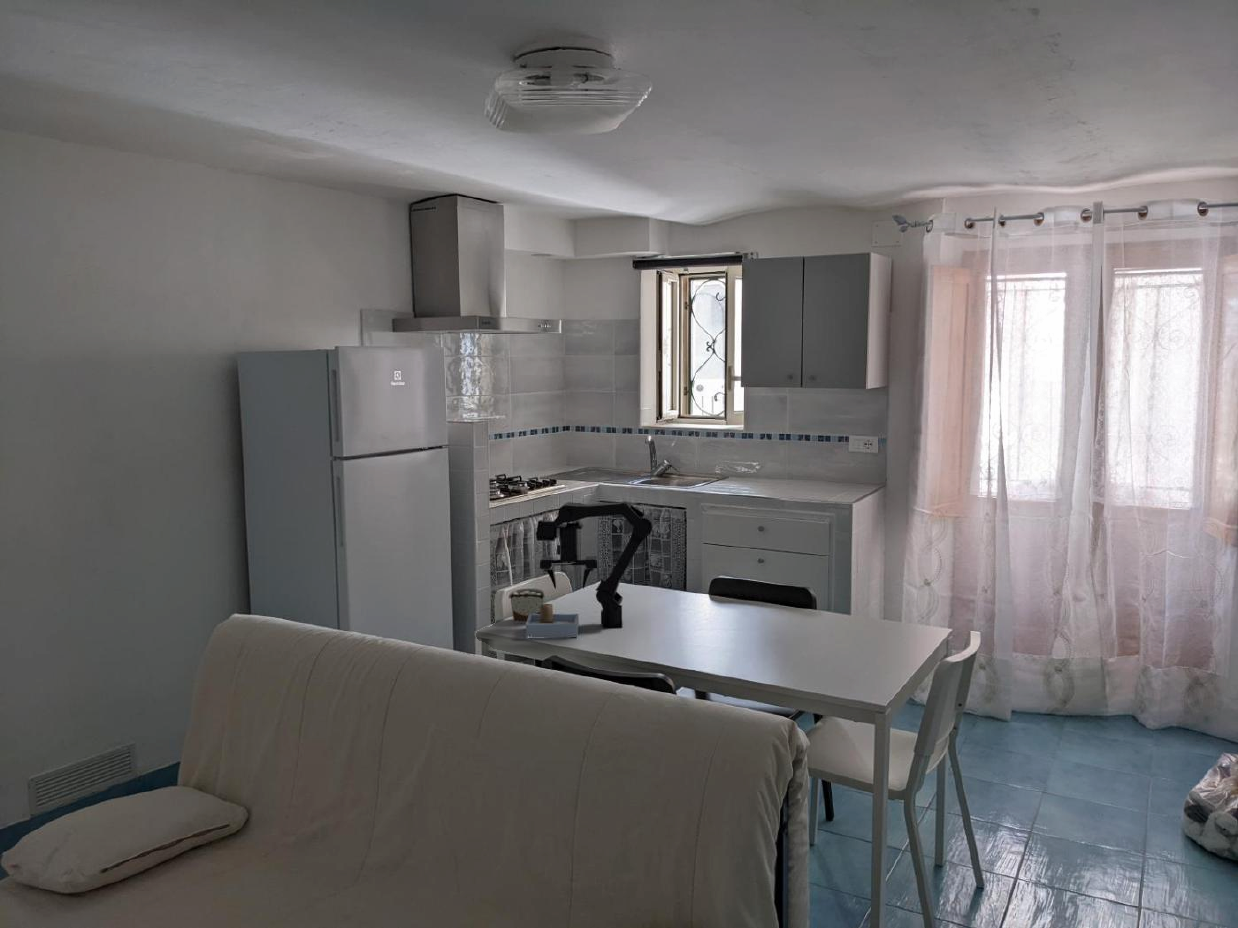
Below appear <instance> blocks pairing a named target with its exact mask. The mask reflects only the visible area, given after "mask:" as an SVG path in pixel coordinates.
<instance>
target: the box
mask: <svg viewBox="0 0 1238 928" xmlns="http://www.w3.org/2000/svg"><path fill="white" fill-rule="evenodd" d="M579 618H580V617H579V613H553V624H540V614H529V616H528V619H527V622H525V637H526V636H527V637H528V636H529V637H531V636H532V637H577V638H578V633H579V628H580V627H579V626H580V625H579V623H580V622H579Z"/></svg>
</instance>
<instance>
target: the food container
mask: <svg viewBox="0 0 1238 928" xmlns="http://www.w3.org/2000/svg"><path fill="white" fill-rule="evenodd" d="M508 599H510V604H511V611H512V619H513V622H514V621H519V622H518V623H526V622H527V619H528V616H529V614H540V605H542V604H544V600H546V593H545V592H544V591H543V590H542V589H538V588H519V589H515V590H512V591H510V592H509V595H508Z"/></svg>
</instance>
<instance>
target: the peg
mask: <svg viewBox="0 0 1238 928" xmlns="http://www.w3.org/2000/svg"><path fill="white" fill-rule="evenodd" d="M553 609H554V607H553V604H551V603H543V604H542V605H540V624H553V614H554V611H553Z"/></svg>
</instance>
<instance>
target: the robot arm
mask: <svg viewBox="0 0 1238 928" xmlns="http://www.w3.org/2000/svg"><path fill="white" fill-rule="evenodd" d="M607 516H622V517H623V518H624V519H625V520H626V521H627V522H628V523H629V524H630V525H631V526H632V527H633V529H632V531H631V535H630V538H629V540H628V543H627V544H626V546H625V548H624V550H623V551H622V553H621V555H620V557H619V559H618V560H617V563H616V565H614V568H613V569H612V571H611V573H610V574H609V576H606V575H603V576H602V578H601V579H600V583H599V584H598V585H597V587H596V588H595V591H596V593H595V598H596V600H597V602H598V603H599V604H600V605H601V607H602V609H601V610H600V624H601V625H602V627H601V628H604V629H606V628H607V629H608V628H613V629H614V628H623V605H622V602H623V600H624V599H623V596H622V595H621V594H620V593H619V592H618V590H619V587H620V583H621V579H622V578H623V575H624V574H625V572H626V570H627V569H628V567H629V565H630V563H631V561H632V559H633V558H634V556H635V554H636V552H637V550H638V549H639V547H640V545H641V544H642V543H643V542H644V541H645V540H646V539H647V538H648V536H649V535H650V534H651V532H652V531H653V530H654V528H655V525H656V524H655V520H654V518H653V516H651V515H649V514H645V513H644V512H643V511H642V510H640V509H638V508H637V507H635V506H634V505H632V504H631V503H630V502H629V501H627V500H623V501H620V502H619V501H618V502H616V501H615V502H608V503H607V502H606V503H605V502H603V503H592V504H584V503H581V502H572V501H569V502H565V503H563V505H562V506H560V508H559V509H558V511H557V517H555V519H554V520H543V519H539V520H538V521H537V527H536V532H535V537H536V541H537V542H556V539H559V544H558V545H557V544H556V554H557V556H559V557H560V558H559V559H554V556H542V557H540V560H539V569H540V570H543V572H546V573H547V574H548V576H549V578H550V580H551V582H552V585H553V587H554V589H557V580H556V573H555V571H556V570H555V566H584V570H583V580H582V589H585V587H586V584H587V583H586V582H587V581H588V577H589V575H590V573H591V572H593V571H594V570H595V569H598V568H599V567H598V566H599V558H598V557H597V556H585V558H584V559H579V549H578V530H582V529H583V528H584V525H583V524H582V523H581V522H580V520H582V519H586V518H596V517H607ZM564 523H566V524H564ZM562 524H563V525H562Z"/></svg>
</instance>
